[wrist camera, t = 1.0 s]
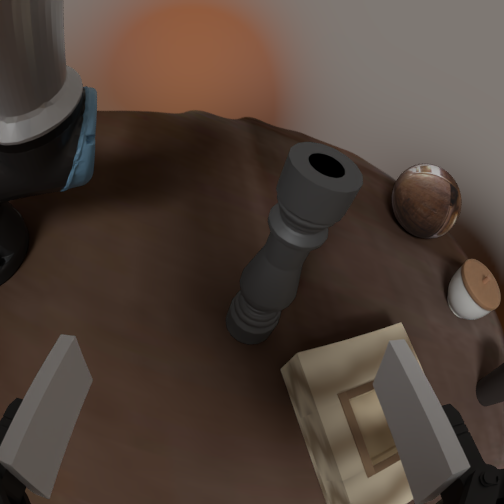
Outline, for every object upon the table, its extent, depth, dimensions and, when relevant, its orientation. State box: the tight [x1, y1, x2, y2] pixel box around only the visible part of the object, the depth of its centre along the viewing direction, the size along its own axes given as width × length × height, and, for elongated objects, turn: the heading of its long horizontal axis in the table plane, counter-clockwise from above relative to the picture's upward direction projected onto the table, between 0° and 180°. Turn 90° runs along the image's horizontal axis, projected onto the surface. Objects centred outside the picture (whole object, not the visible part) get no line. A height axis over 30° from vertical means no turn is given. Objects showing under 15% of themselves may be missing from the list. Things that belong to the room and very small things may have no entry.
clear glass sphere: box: [392, 164, 462, 239], centre depth 56 cm, size 15×15×15 cm
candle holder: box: [226, 142, 363, 344], centre depth 31 cm, size 6×6×25 cm
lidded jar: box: [447, 259, 501, 320], centre depth 48 cm, size 11×11×9 cm
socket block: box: [280, 323, 424, 504], centre depth 32 cm, size 22×16×6 cm
